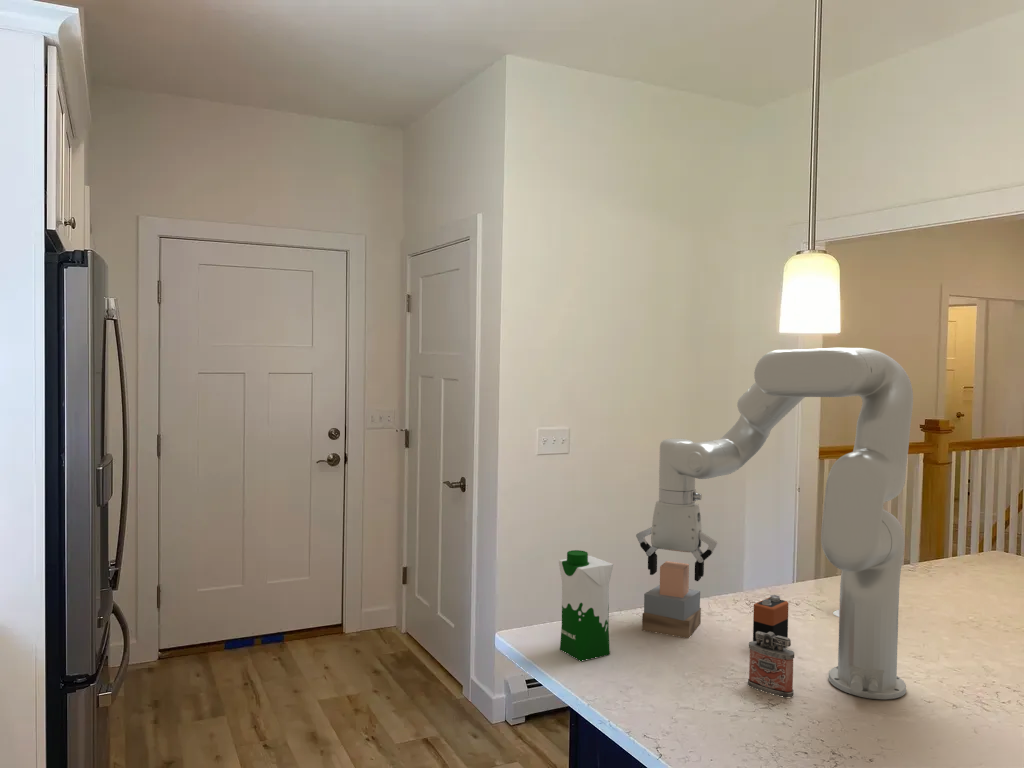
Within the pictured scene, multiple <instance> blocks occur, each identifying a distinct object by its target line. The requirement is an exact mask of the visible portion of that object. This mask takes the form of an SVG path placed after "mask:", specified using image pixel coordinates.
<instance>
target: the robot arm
mask: <svg viewBox="0 0 1024 768" xmlns="http://www.w3.org/2000/svg"><path fill="white" fill-rule="evenodd" d="M753 372H754V373H753V375H754V376H753V377H754V381H755V382H754V383H753V384H752V385H751V386H750V387H749V388H748V389H747V390H746V391H745V392H744V393H743V394H742V395H741V396H740V397H739V398H738V400H737V403H736V404H737V405H736V406H737V410H738V412H739V413H740V414H739V415H740V416H739V418H738V420H737V421H736V423H735V424H734V425H733V426H732V427H731V428H730V429H729V430H728V431H727V432H726V433H725V434H724V435H723V436H722V437H720V438H719V439H714V440H706V441H700V442H694V441H692V440H690V439H685V438H665V439H663V440H662V441H661V442H660V444H659V467H658V468H659V470H658V473H659V474H658V475H659V476H658V478H659V479H658V500H657V501H656V502H655V505H654V509H653V516H652V521H651V522H652V523H651V527H648V528H647V529H645V530H642V531H639V532H637V533H636V535H635V537H636V539H637V541H638V543H639V546H640V548H641V550H643V551H644V552H645V554H646V556H647V569H648V571H649V575H650V576H653V575H655V574H656V573H657V572H658V555H657V553H656V551H657V550H663V551H664V550H665V551H666V550H667V551H673V552H681V553H691V554H692V555H693V557H694V558H695V559H696V561H695V562H694V581H695V582H699V581H700V580H701V579H702V577H704V574H705V572H704V571H705V561H706V560H707V559H708V558H709V557H710V556H711V555H712V554H714V553H713V552H714V551H715V549H716V548H717V546H718V544H719V543H718V542H717V540H715V539H714V538H712V537H711V536H709V535H707V534H706V533H704V532H702V531H703V530H702V518H701V517H702V516H701V509H700V506H699V503H696V501H702V499H703V495H702V493H699V492H697V490H696V479H697V480H709V479H712V478H713V479H714V478H717V477H718V478H719V477H722V476H727V475H731V474H733V473H735V472H737V471H738V470H740V469H741V468H742V467H743V466H744V465H745V464H746V463H747V462H748V461H749V460H751V459H752V457H754V456H755V455H756V454H757V453H758V452H759V451H760V450H761V448H763V446H764V444H765V443H766V441H767V439H768V438H769V436H770V433H771V432H772V430H773V428H775V426H776V425H778V423H780V422H781V420H783V418H784V417H785V416H787V415H788V414H789V413H790V412H791V411H792V410H793V409H794V408H795V407H796V406H797V405H798V404H799V403H800V402H802V401H803V400H804V399H805V398H846V397H860V398H861V400H862V401H861V402H862V404H861V409H860V412H859V414H858V416H857V417H858V418H857V422H856V429H855V431H856V432H855V438H854V439H855V440H854V445H853V450H852V451H851V452H848V453H845V454H844V455H841V456H840V457H839V458H838V459H837V460H835V462H834V463H833V465H832V466H831V468H830V470H829V472H828V474H827V475H828V476H827V479H826V483H825V490H824V492H825V493H824V501H823V509H822V510H823V512H822V519H821V520H822V522H821V529H820V543H821V548H822V551H823V553H824V555H825V557H826V558H827V560H828V562H829V563H831V564H832V565H833V566H834V567H836V568H837V569H839V570H841V574H840V584H839V585H840V586H839V587H840V588H839V609H838V610H839V617H838V647H837V648H838V653H837V657H838V658H837V666H834V667H832V668H831V669H829V671H828V678H827V679H828V681H829V683H831V684H832V686H834V688H836V689H838V690H840V691H842V692H845V693H847V694H850V695H852V696H856V697H861V698H865V699H873V700H894V699H898V698H899V699H900V698H901V697H902V696H904V695H905V694H906V693H907V684H906V682H905V681H904V680H903V679H902V678H901V677H900V676H898V675H897V674H898V673H897V672H898V640H899V639H898V638H899V637H898V635H899V609H900V608H899V605H900V604H899V603H900V584H901V572H902V566H903V559H904V553H905V552H904V551H905V542H906V541H905V532H904V529H903V526H902V524H901V522H900V521H899V520H898V519H897V517H896V516H895V515H894V514H892V513H891V512H889V511H887V510H886V509H884V504H885V503H886V502H888V501H892V500H893V499H895V498H897V497H898V496H899V495H900V494H901V493H902V491H903V489H904V487H905V483H906V474H907V467H908V466H907V465H908V464H907V463H908V457H909V456H908V455H909V448H910V446H909V445H910V435H911V434H910V433H911V425H912V417H913V416H912V415H913V407H914V391H913V386H912V382H911V379H910V377H909V375H908V373H907V372H906V370H905V369H904V367H903V366H902V365H901V364H900V363H899V362H898V361H896V360H895V359H894V358H892V357H891V356H889V355H887V354H886V353H884V352H882V351H879V350H877V349H876V350H875V349H871V348H865V347H826V348H808V349H806V348H805V349H774V350H770V351H769V352H766V354H764V355H763V356H761V358H760V359H759V360H758V361H757V363H756V365H755V368H754V371H753ZM648 536H650V540H651V541H650V542H651V545H650V544H649V543H648V542H647V541H646V537H648ZM703 542H704V543H705V544H707V545H708V547H707V549H706V550H705V551H704V552H703V550H702V549H701V548H702V544H703Z"/></svg>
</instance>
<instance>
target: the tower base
mask: <svg viewBox="0 0 1024 768" xmlns="http://www.w3.org/2000/svg"><path fill="white" fill-rule="evenodd" d="M701 611H702V609H701V607H700V610H698V611H697V612H696V613H694V614H693V615H691V616H690V617H689V618H687V619H686V620H684V621H683V620H678V619H673V618H669V617H664V616H659V615H655V614H650V613H645V612H644V611H643V613H642V614H641V615H642V618H641V619H642V620H641V621H642V622H641V623H642V625H641V627H642V628H641V630H642V631H643V630H645V631H644V632H649V631H651V632H650V633H655V632H657V633H656V634H660V633H662V634H661V635H666V634H668V635H667V636H672V635H674V636H673V637H678V636H680V637H679V638H683V637H685V639H690V638H691V637H690V636H693V634H694V633H695V631H696V630H697V629H698V628H699V627H700V625H701V619H702V617H701V616H702V615H701V614H702V612H701Z"/></svg>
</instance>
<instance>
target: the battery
mask: <svg viewBox="0 0 1024 768" xmlns="http://www.w3.org/2000/svg"><path fill="white" fill-rule="evenodd" d="M769 596H770V597H767V598H764V599H762V600H760V601H758V602H755V603H753V616H752V617H753V621H752V622H753V624H752V641H756V632H757V631H760V632H764V633H768V632H773V633H774V634H775V636H778V635H779V636H783V637H786V638H789V634H788V633H789V601H787V600H783V599H781V596H780V595H777V594H770V595H769ZM761 642H762V641H761ZM778 645H779V644H778ZM785 647H786V646H783V648H785Z"/></svg>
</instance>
